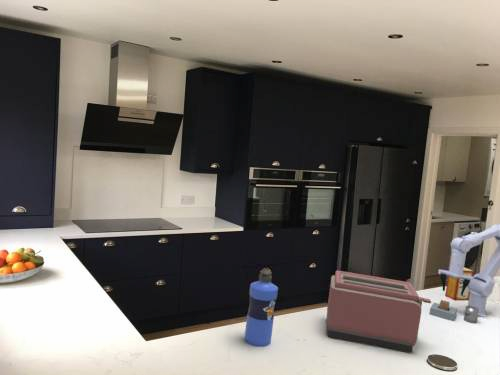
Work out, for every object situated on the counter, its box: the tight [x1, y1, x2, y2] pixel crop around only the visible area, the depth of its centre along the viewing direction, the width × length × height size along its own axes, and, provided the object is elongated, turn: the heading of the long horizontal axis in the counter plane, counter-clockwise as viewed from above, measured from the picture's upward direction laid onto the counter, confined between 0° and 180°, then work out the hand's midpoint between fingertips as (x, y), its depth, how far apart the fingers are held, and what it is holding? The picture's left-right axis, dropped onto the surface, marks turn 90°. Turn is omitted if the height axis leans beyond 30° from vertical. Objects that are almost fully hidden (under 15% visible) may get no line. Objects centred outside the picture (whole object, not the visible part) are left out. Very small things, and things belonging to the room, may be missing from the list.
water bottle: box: [244, 267, 279, 348], centre depth 146 cm, size 9×9×25 cm
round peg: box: [463, 305, 479, 324], centre depth 191 cm, size 5×5×6 cm
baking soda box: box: [445, 266, 475, 301], centre depth 223 cm, size 10×6×16 cm
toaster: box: [326, 270, 432, 354], centre depth 161 cm, size 19×36×21 cm, turn 79°
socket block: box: [429, 302, 458, 322], centre depth 195 cm, size 10×10×3 cm
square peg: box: [439, 299, 450, 311], centre depth 195 cm, size 4×4×6 cm
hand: (452, 292), depth 199 cm, fingers open, 7 cm apart
